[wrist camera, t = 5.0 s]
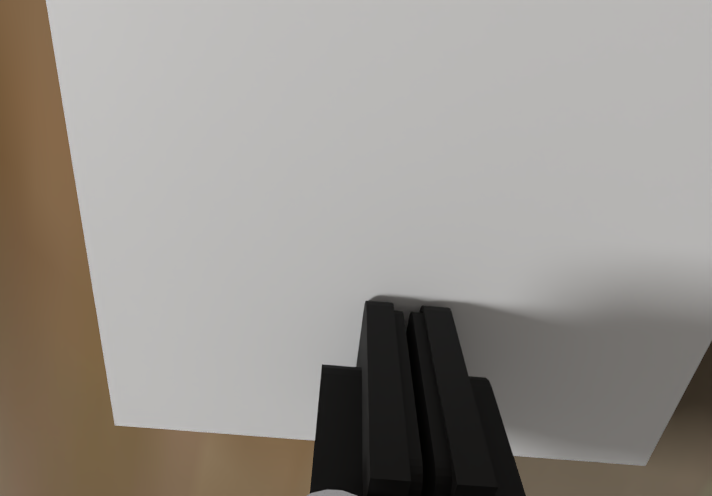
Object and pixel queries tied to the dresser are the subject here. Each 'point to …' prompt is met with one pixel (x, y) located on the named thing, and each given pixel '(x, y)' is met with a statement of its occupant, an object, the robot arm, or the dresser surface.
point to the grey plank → (395, 203)
